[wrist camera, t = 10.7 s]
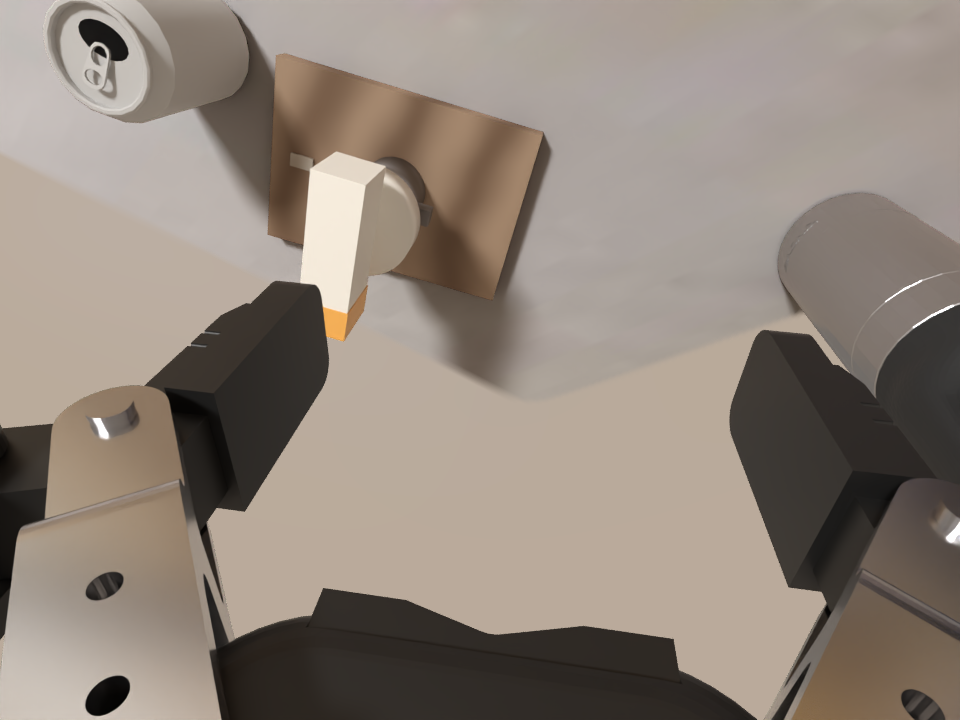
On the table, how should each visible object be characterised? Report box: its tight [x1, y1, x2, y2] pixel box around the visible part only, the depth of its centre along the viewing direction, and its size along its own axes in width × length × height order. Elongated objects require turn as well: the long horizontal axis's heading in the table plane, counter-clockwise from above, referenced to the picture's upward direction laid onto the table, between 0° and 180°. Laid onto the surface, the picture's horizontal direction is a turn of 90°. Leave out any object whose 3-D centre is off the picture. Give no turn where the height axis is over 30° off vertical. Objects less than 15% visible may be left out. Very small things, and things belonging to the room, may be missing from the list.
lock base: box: [268, 54, 543, 300], centre depth 43 cm, size 20×14×8 cm
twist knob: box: [300, 151, 420, 341], centre depth 36 cm, size 10×7×9 cm
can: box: [43, 0, 249, 123], centre depth 37 cm, size 8×8×12 cm
